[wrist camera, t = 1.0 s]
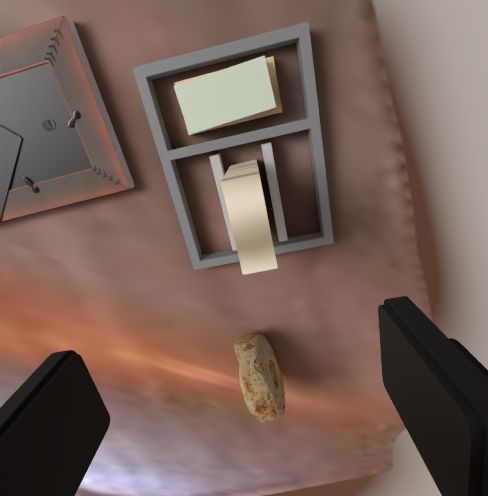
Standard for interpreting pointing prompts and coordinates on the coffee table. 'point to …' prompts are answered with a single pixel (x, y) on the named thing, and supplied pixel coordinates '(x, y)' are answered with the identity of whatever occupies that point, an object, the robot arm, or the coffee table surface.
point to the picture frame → (53, 124)
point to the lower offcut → (277, 110)
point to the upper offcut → (226, 95)
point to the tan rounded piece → (260, 378)
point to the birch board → (249, 217)
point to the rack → (241, 140)
